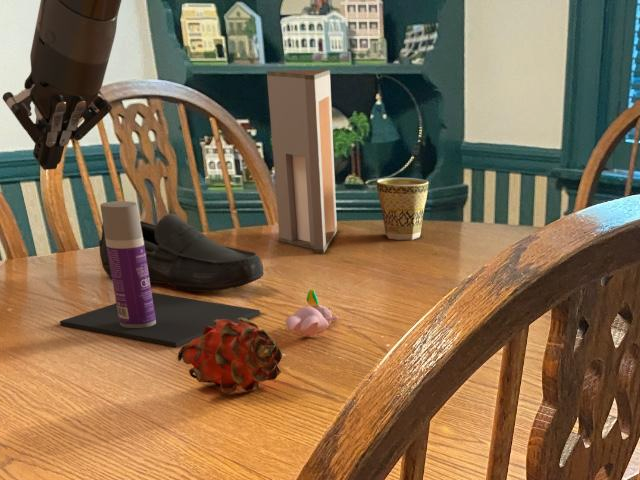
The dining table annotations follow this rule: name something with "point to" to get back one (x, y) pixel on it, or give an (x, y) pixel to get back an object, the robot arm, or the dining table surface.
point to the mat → (163, 320)
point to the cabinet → (303, 156)
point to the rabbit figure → (311, 317)
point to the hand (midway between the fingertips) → (45, 164)
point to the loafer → (191, 258)
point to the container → (128, 264)
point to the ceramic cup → (402, 206)
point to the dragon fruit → (233, 355)
